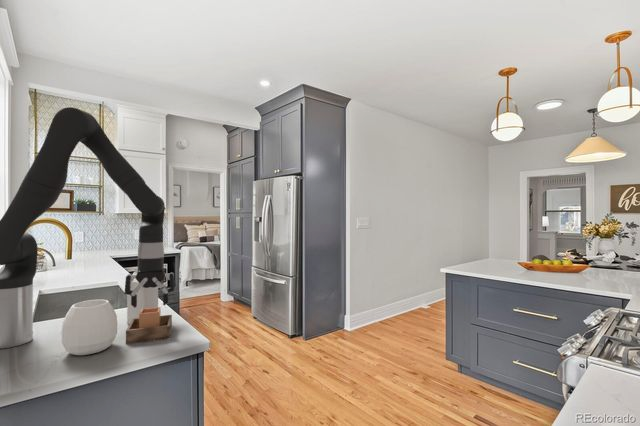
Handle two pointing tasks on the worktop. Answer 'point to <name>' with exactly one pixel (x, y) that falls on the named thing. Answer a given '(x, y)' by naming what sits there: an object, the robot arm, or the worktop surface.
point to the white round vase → (89, 327)
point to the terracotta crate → (149, 317)
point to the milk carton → (141, 299)
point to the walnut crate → (149, 331)
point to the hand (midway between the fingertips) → (150, 305)
